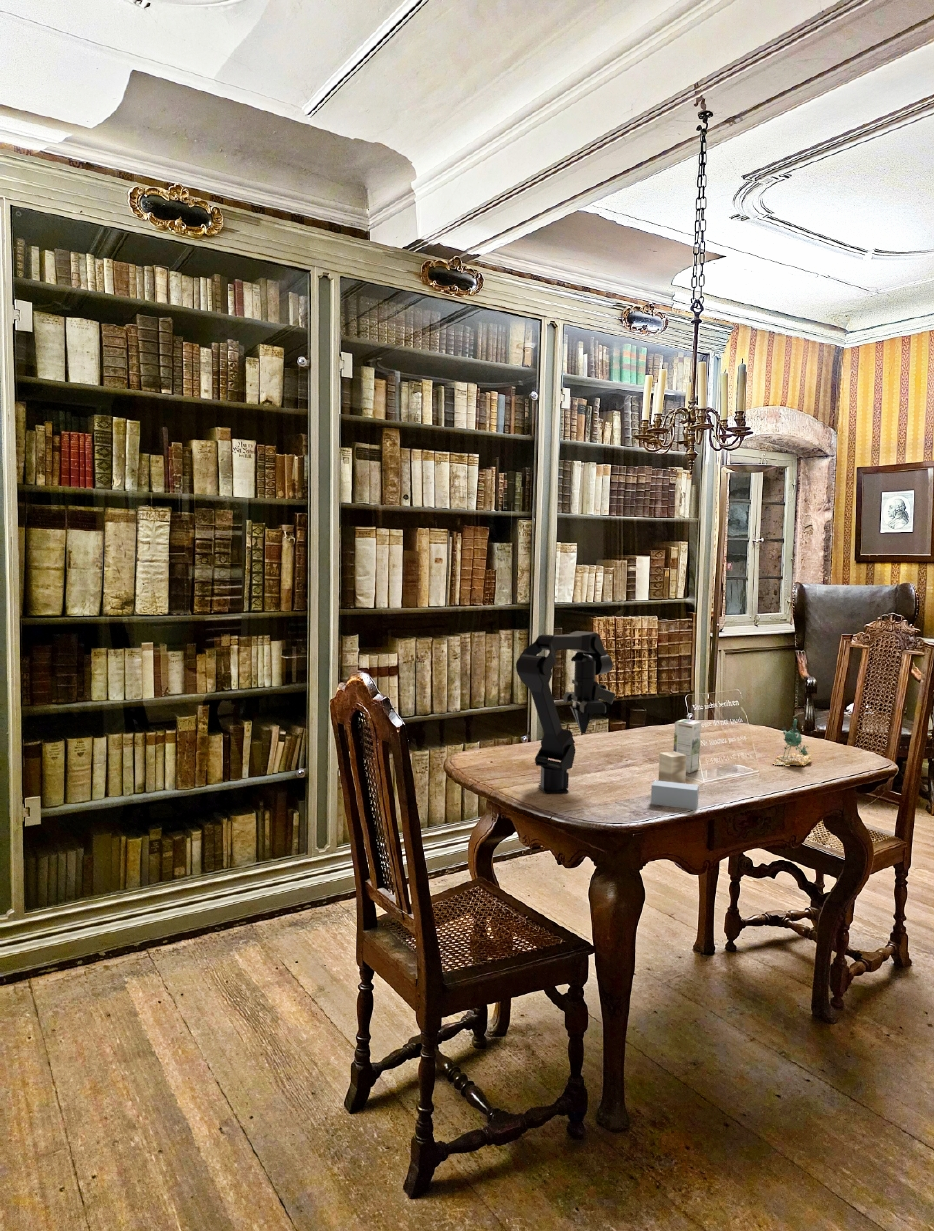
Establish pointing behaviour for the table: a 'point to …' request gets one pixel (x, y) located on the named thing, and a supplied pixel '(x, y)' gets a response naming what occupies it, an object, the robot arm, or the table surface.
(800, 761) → the frog figurine
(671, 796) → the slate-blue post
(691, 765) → the syrup box
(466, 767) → the table surface
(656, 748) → the table surface
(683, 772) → the birch post
